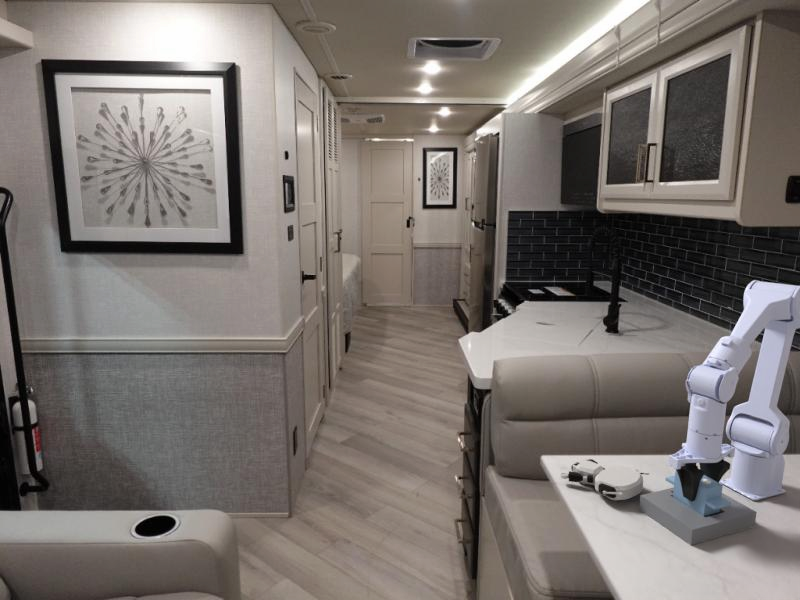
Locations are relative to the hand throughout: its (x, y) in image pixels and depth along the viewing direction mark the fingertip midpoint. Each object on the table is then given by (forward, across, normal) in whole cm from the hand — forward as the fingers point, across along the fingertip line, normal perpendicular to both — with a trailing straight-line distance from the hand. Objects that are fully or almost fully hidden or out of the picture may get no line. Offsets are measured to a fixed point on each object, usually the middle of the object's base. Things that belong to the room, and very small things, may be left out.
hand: (697, 496), depth 102 cm
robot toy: (+5, +9, -15) cm, 18 cm away
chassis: (+4, 0, 0) cm, 4 cm away
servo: (+2, 0, 0) cm, 2 cm away
